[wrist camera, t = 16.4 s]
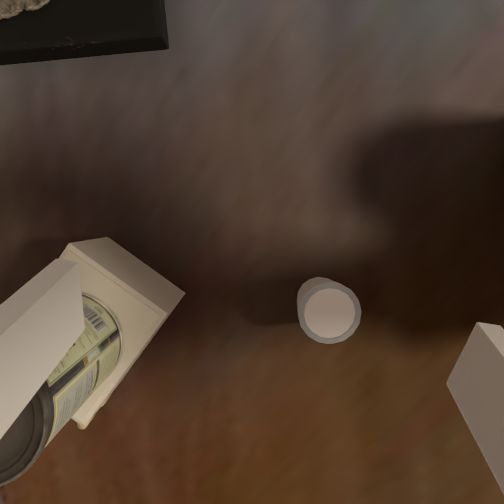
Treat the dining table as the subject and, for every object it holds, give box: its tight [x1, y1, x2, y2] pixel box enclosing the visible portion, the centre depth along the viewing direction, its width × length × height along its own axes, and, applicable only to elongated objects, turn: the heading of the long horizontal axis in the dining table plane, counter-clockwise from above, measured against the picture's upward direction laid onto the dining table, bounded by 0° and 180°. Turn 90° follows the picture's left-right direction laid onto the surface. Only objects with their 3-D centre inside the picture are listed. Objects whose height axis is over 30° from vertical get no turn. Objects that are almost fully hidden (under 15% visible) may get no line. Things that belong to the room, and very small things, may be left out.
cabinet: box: [58, 237, 185, 429], centre depth 42 cm, size 12×17×10 cm
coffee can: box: [0, 292, 124, 487], centre depth 30 cm, size 10×10×14 cm
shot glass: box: [297, 277, 361, 344], centre depth 43 cm, size 7×7×7 cm
